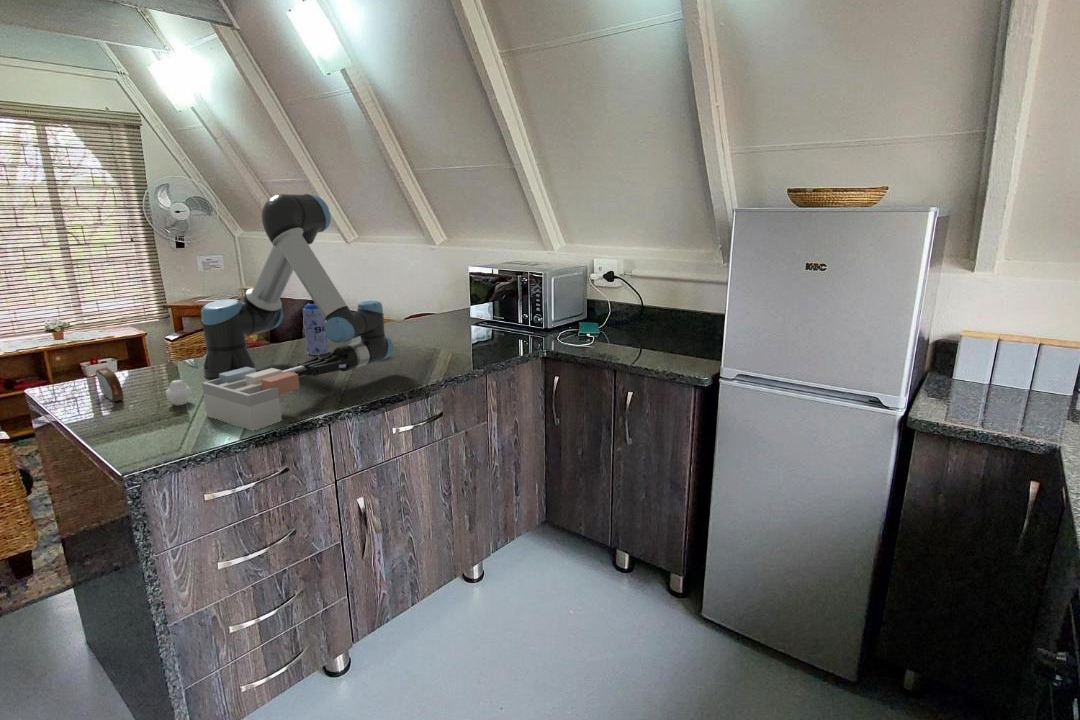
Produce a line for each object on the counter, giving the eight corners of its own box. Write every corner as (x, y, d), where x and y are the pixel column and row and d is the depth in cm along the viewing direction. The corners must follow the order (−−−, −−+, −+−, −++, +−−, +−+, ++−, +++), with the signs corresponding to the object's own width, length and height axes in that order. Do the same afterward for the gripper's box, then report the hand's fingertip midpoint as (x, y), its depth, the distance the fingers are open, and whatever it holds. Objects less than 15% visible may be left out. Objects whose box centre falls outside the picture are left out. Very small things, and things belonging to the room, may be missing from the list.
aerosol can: (314, 356, 213) (308, 302, 207) (302, 353, 217) (296, 300, 212) (333, 352, 219) (328, 299, 213) (321, 349, 223) (316, 297, 218)
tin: (126, 402, 165) (120, 374, 163) (112, 405, 163) (106, 376, 161) (111, 391, 175) (105, 364, 173) (98, 394, 173) (92, 366, 170)
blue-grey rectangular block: (220, 388, 156) (218, 373, 155) (248, 380, 162) (246, 366, 161) (229, 390, 154) (227, 376, 153) (257, 382, 160) (255, 368, 159)
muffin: (197, 399, 167) (194, 376, 165) (184, 407, 161) (180, 383, 160) (176, 399, 168) (172, 376, 166) (162, 407, 162) (158, 382, 160)
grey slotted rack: (207, 416, 155) (201, 382, 152) (235, 407, 161) (231, 375, 159) (253, 431, 145) (248, 395, 142) (281, 421, 151) (277, 387, 149)
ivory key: (246, 389, 155) (244, 375, 153) (273, 381, 161) (272, 367, 160) (255, 392, 153) (253, 377, 151) (283, 384, 159) (281, 370, 158)
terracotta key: (262, 394, 151) (261, 379, 150) (290, 386, 158) (288, 371, 157) (272, 396, 149) (270, 381, 148) (299, 388, 156) (298, 374, 155)
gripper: (366, 371, 178) (300, 393, 159) (336, 365, 184) (269, 385, 165) (364, 347, 176) (297, 366, 157) (334, 342, 182) (266, 359, 163)
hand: (283, 376), depth 161 cm, fingers closed
